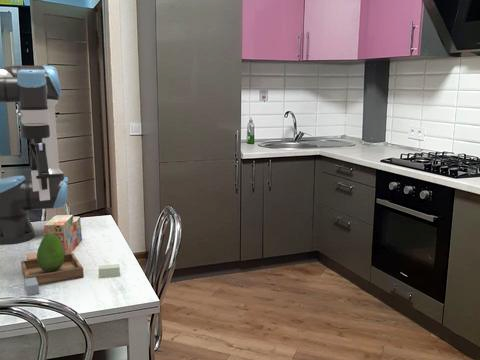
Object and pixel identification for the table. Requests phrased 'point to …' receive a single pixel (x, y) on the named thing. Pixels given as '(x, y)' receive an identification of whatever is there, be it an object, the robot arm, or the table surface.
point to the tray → (66, 272)
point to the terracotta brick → (31, 256)
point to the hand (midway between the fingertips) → (41, 195)
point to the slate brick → (31, 286)
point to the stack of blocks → (65, 231)
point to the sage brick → (109, 271)
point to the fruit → (50, 253)
